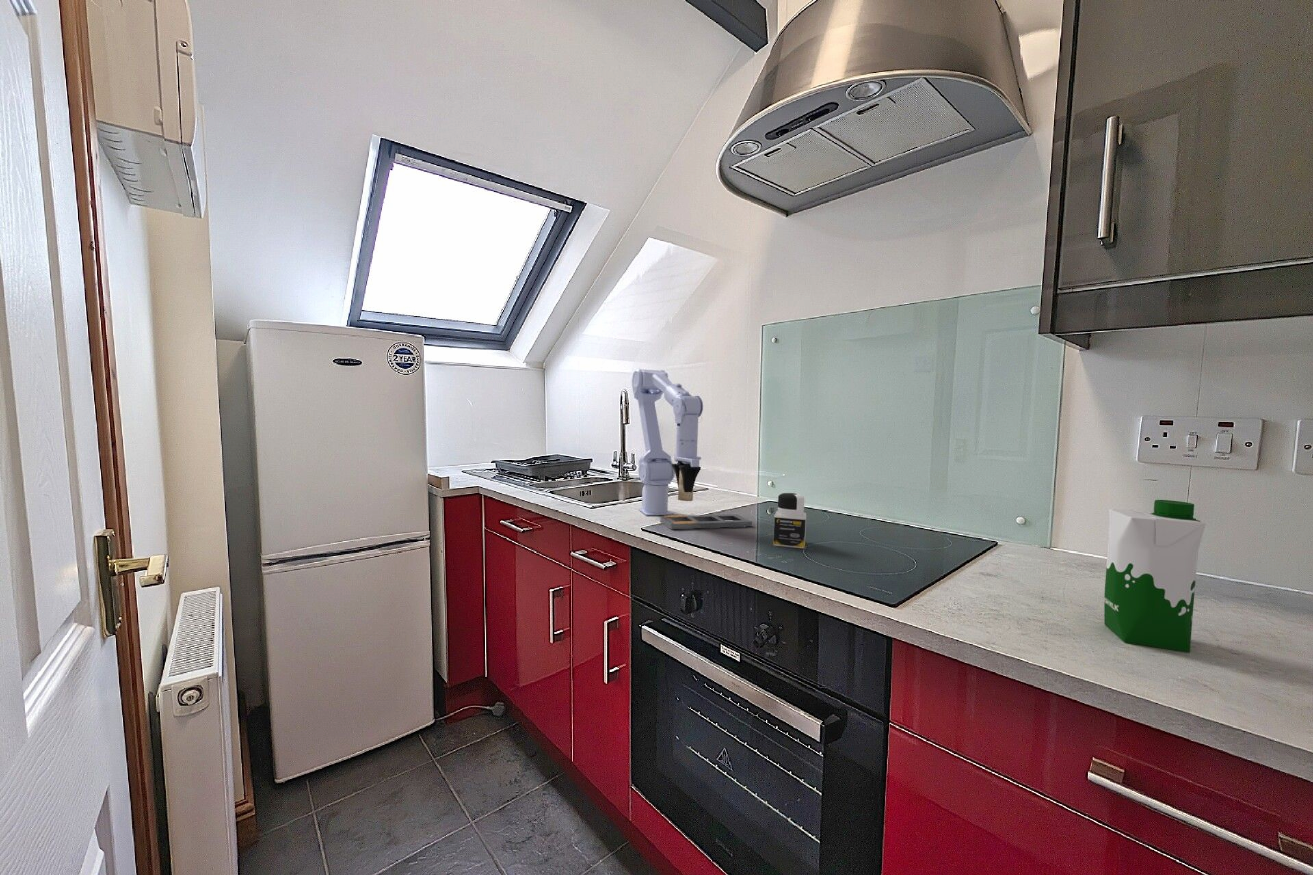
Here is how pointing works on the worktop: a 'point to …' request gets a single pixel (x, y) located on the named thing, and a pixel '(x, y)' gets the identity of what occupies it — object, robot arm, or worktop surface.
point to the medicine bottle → (790, 521)
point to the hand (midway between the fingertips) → (685, 490)
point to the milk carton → (1152, 574)
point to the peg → (681, 494)
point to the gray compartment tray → (704, 521)
